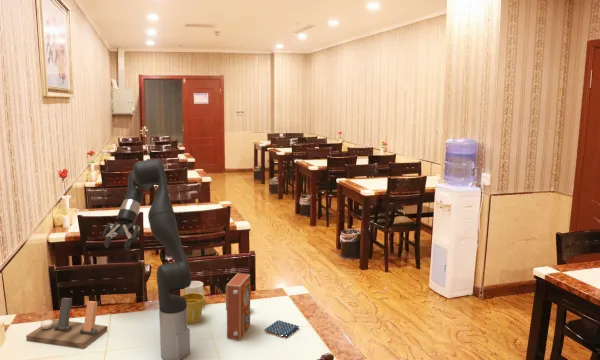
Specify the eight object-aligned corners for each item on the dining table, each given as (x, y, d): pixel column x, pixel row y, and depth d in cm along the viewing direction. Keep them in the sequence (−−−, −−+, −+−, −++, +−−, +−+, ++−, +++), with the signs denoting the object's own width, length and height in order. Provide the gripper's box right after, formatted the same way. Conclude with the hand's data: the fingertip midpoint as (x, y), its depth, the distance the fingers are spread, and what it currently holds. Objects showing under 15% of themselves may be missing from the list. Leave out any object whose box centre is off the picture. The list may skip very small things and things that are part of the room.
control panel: (253, 324, 197) (241, 342, 183) (236, 322, 199) (223, 340, 184) (253, 273, 194) (240, 287, 179) (236, 271, 195) (222, 285, 181)
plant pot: (207, 323, 197) (207, 300, 195) (181, 327, 193) (180, 304, 192) (202, 313, 207) (202, 291, 205) (177, 316, 203) (176, 294, 201)
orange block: (93, 333, 184) (97, 301, 185) (90, 334, 182) (94, 302, 183) (86, 332, 184) (90, 301, 186) (82, 333, 182) (87, 301, 184)
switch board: (107, 330, 190) (107, 322, 189) (84, 348, 176) (83, 339, 176) (53, 323, 195) (52, 315, 194) (26, 340, 181) (25, 331, 181)
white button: (55, 325, 189) (54, 320, 188) (47, 329, 185) (47, 324, 184) (46, 323, 190) (45, 319, 189) (38, 328, 186) (38, 323, 185)
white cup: (185, 310, 208) (184, 288, 207) (184, 303, 216) (184, 281, 214) (204, 309, 211) (203, 286, 209) (202, 301, 218) (202, 280, 216)
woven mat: (277, 323, 200) (277, 318, 199) (300, 330, 194) (300, 325, 194) (262, 333, 191) (262, 328, 190) (286, 341, 185) (286, 335, 185)
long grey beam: (67, 329, 186) (72, 298, 188) (64, 330, 184) (68, 299, 186) (60, 328, 187) (65, 297, 188) (57, 329, 185) (61, 298, 186)
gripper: (109, 206, 204) (95, 242, 195) (141, 209, 202) (128, 245, 193) (116, 215, 210) (103, 250, 202) (147, 218, 208) (136, 253, 199)
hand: (115, 247), depth 197 cm, fingers open, 8 cm apart
